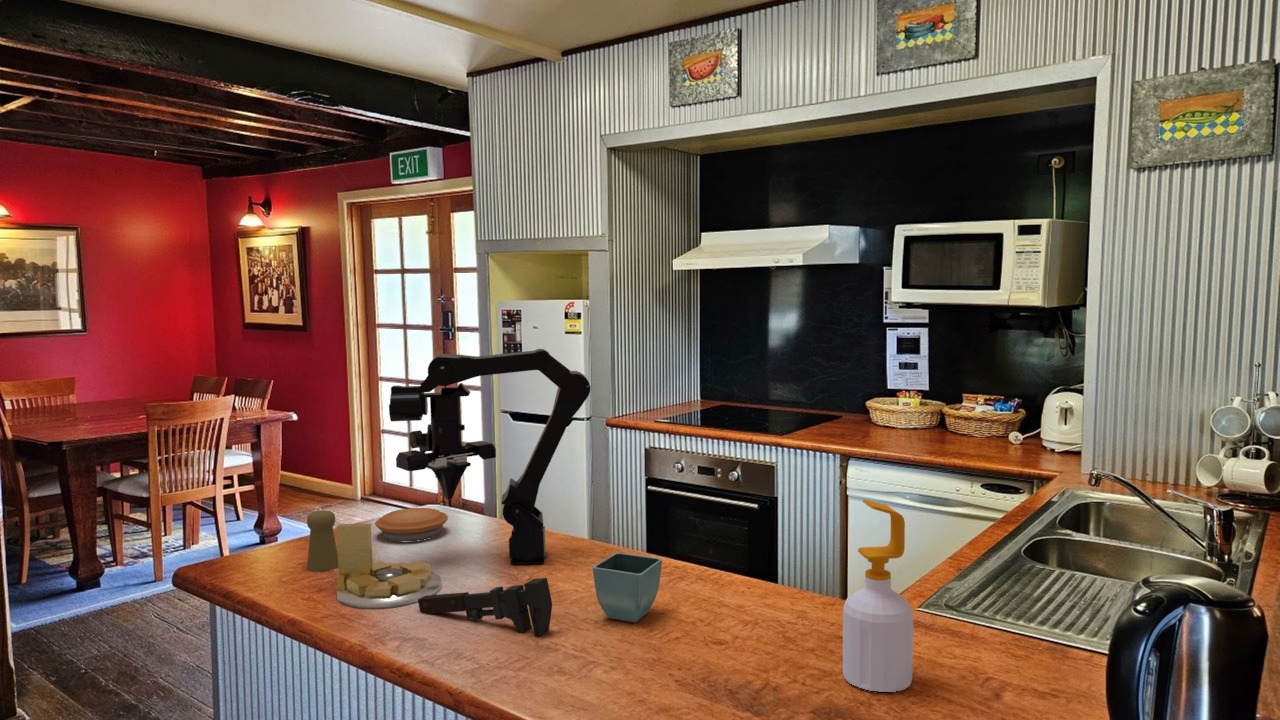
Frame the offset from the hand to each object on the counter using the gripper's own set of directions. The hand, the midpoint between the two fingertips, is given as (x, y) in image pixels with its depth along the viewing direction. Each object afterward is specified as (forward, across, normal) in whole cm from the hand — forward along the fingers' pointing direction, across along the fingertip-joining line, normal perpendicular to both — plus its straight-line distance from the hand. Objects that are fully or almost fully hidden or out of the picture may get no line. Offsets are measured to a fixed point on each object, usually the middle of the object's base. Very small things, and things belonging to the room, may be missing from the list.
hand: (448, 499), depth 168 cm
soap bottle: (+13, -20, +84) cm, 87 cm away
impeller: (+13, +15, +6) cm, 21 cm away
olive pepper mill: (+13, +19, -16) cm, 28 cm away
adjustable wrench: (+14, +10, +30) cm, 34 cm away
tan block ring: (+12, +16, +5) cm, 20 cm away
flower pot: (+13, -9, +44) cm, 47 cm away
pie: (+13, -4, -24) cm, 28 cm away
